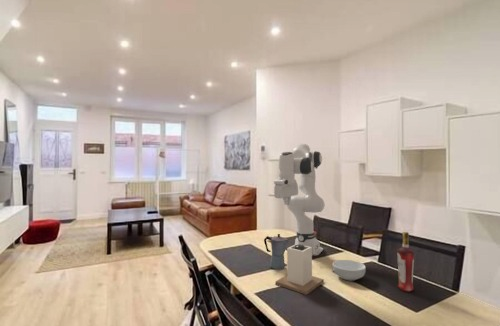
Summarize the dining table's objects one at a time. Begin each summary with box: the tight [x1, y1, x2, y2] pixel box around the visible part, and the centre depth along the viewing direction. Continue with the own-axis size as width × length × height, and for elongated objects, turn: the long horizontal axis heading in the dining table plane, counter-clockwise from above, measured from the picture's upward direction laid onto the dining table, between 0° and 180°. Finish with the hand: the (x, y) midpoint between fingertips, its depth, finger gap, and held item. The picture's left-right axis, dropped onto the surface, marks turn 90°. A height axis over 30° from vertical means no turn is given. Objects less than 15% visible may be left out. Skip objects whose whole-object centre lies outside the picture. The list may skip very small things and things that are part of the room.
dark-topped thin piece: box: [294, 244, 304, 251], centre depth 148 cm, size 6×6×17 cm
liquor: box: [396, 231, 415, 293], centre depth 140 cm, size 7×7×28 cm
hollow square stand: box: [274, 243, 325, 295], centre depth 148 cm, size 18×18×18 cm
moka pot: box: [263, 233, 290, 271], centre depth 171 cm, size 10×15×20 cm, turn 78°
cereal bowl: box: [332, 259, 367, 282], centre depth 155 cm, size 17×17×7 cm
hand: (287, 204), depth 164 cm, fingers closed
